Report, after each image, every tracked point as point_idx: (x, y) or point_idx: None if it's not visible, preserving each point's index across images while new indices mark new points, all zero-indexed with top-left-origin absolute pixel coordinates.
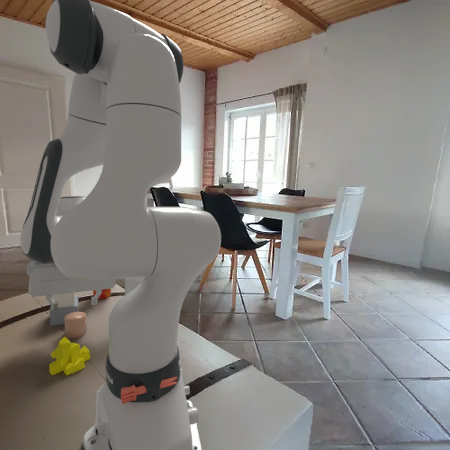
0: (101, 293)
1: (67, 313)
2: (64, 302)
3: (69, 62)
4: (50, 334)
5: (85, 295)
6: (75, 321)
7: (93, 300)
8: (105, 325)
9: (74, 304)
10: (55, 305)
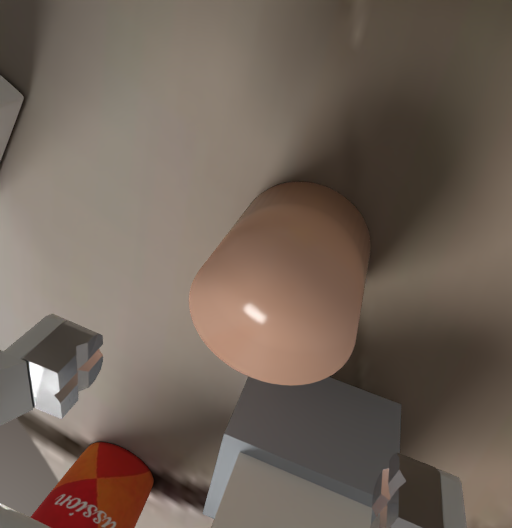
0: (106, 476)
1: (297, 422)
2: (292, 511)
3: None
4: (437, 326)
5: (183, 510)
6: (289, 248)
7: (49, 357)
8: (131, 219)
9: (237, 460)
10: (422, 507)
